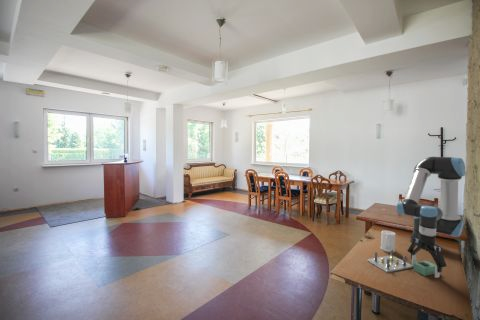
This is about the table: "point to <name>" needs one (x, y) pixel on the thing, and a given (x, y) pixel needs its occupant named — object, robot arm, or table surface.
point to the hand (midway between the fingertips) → (424, 271)
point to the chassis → (390, 262)
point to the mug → (387, 241)
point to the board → (424, 268)
